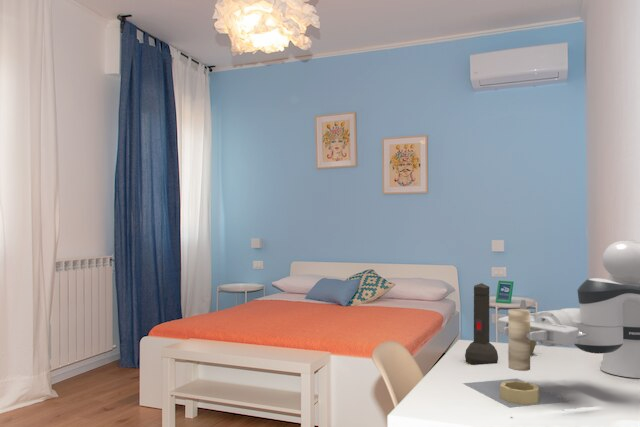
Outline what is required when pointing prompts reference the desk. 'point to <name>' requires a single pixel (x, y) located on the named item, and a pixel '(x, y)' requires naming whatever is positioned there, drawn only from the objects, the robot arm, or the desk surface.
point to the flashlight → (481, 330)
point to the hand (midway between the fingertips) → (517, 333)
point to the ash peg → (518, 339)
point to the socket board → (495, 393)
